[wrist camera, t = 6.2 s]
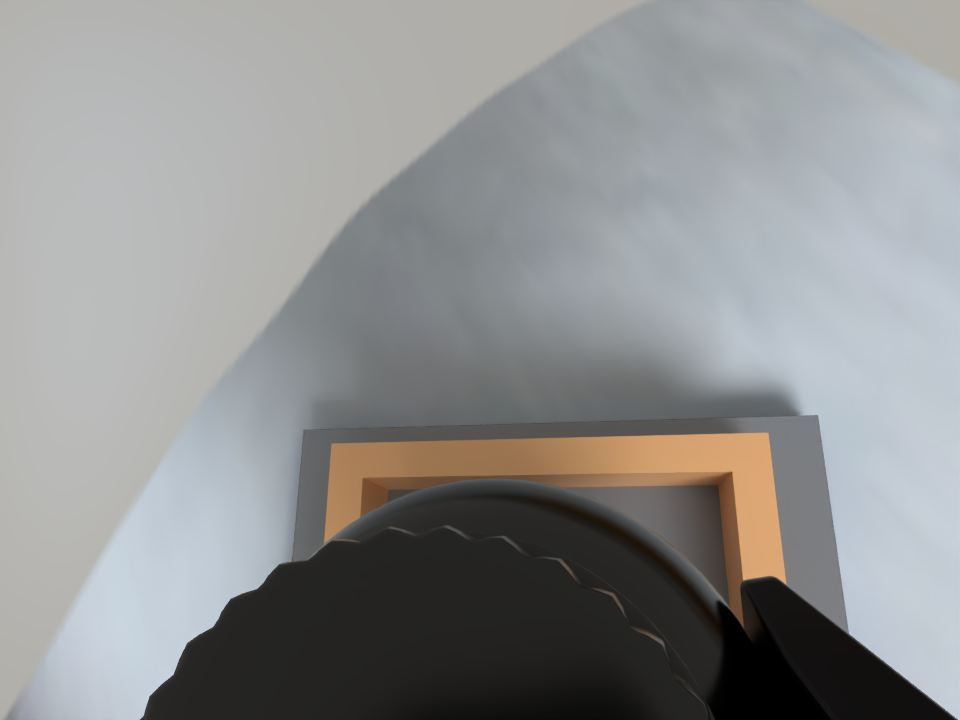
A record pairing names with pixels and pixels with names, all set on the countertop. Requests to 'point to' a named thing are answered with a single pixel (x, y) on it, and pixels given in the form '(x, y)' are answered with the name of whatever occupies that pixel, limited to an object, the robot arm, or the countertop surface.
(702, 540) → the housing
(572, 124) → the countertop surface
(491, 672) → the supplement bottle
